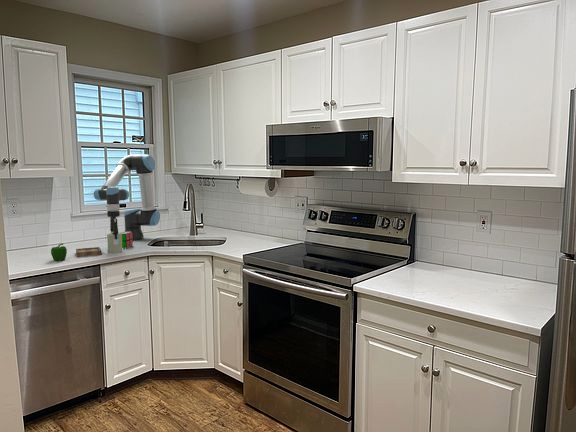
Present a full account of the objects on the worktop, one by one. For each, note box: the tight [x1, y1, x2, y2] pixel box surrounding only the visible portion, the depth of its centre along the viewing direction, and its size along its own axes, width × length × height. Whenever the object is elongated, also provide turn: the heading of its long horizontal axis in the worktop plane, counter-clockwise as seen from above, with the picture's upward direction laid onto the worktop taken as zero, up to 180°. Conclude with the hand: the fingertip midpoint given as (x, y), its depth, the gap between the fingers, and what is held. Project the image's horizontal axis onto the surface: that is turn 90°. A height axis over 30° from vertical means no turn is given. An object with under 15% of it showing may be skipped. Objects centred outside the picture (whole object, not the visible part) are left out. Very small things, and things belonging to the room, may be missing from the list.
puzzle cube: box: [118, 231, 134, 249], centre depth 309 cm, size 10×10×10 cm
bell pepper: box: [50, 243, 68, 262], centre depth 265 cm, size 8×8×10 cm
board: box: [75, 246, 103, 258], centre depth 283 cm, size 14×14×3 cm
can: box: [106, 233, 124, 254], centre depth 291 cm, size 9×9×12 cm
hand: (114, 242), depth 291 cm, fingers open, 13 cm apart
